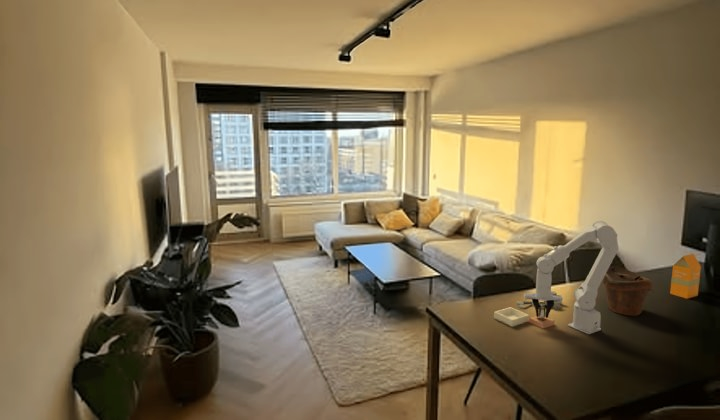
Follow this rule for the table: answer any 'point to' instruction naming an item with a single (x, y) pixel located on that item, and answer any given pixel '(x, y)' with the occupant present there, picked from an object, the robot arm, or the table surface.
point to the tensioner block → (541, 322)
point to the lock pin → (542, 312)
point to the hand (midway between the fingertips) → (541, 316)
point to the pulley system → (556, 304)
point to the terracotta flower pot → (626, 290)
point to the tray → (511, 316)
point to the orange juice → (686, 277)
